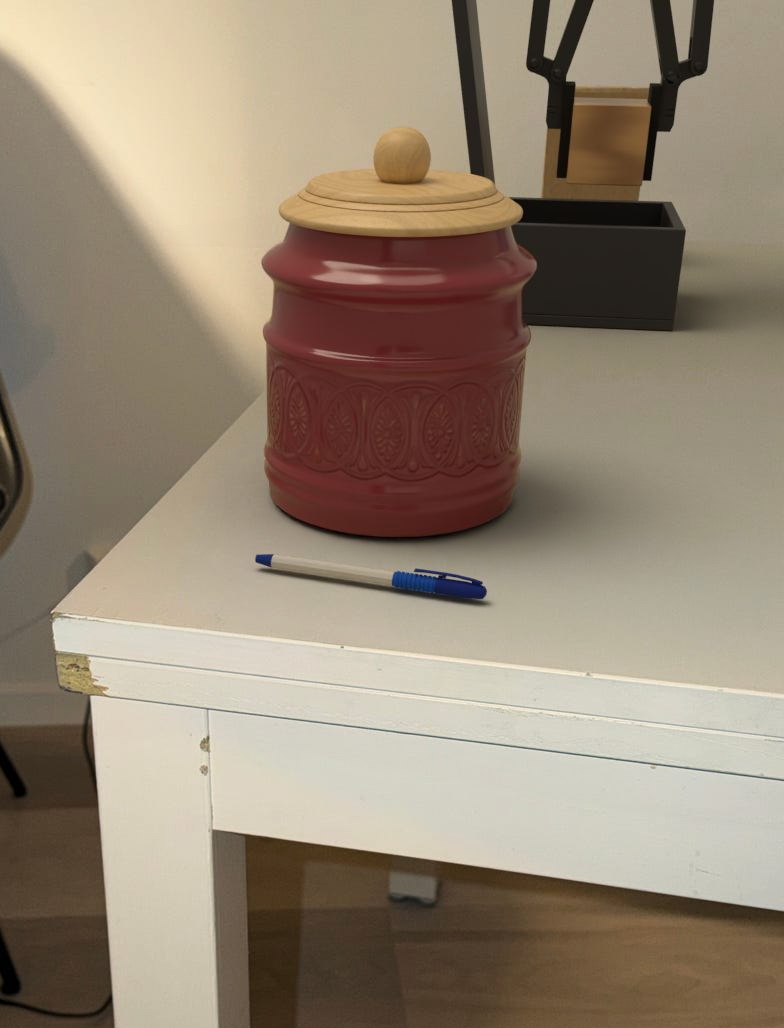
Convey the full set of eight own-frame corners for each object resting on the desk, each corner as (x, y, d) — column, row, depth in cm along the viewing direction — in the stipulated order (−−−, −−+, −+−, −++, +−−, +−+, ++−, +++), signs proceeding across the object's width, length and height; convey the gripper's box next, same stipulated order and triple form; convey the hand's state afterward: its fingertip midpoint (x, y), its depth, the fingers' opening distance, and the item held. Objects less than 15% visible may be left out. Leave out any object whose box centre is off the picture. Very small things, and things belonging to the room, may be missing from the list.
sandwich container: (625, 236, 130) (643, 73, 123) (632, 268, 117) (653, 86, 110) (538, 233, 132) (551, 71, 125) (535, 264, 118) (550, 85, 111)
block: (637, 175, 101) (646, 99, 98) (641, 186, 96) (651, 106, 94) (565, 173, 102) (572, 97, 99) (566, 183, 97) (573, 104, 94)
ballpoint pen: (488, 595, 56) (489, 574, 56) (484, 603, 55) (485, 582, 55) (258, 563, 59) (258, 543, 59) (251, 571, 58) (251, 550, 58)
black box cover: (474, -21, 100) (461, -18, 100) (464, -19, 89) (449, -16, 89) (495, 188, 106) (483, 190, 107) (488, 214, 95) (475, 216, 96)
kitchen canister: (247, 459, 72) (240, 114, 64) (474, 445, 74) (496, 110, 66) (287, 552, 60) (285, 148, 52) (554, 533, 62) (592, 141, 54)
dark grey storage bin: (660, 293, 108) (672, 201, 105) (672, 331, 97) (686, 229, 94) (483, 286, 110) (488, 196, 107) (475, 322, 99) (481, 223, 96)
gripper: (502, -189, 86) (477, 180, 97) (793, -192, 84) (735, 188, 94) (505, -179, 93) (482, 166, 103) (776, -181, 90) (723, 173, 101)
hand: (603, 176), depth 99 cm, fingers closed on block, 5 cm apart
